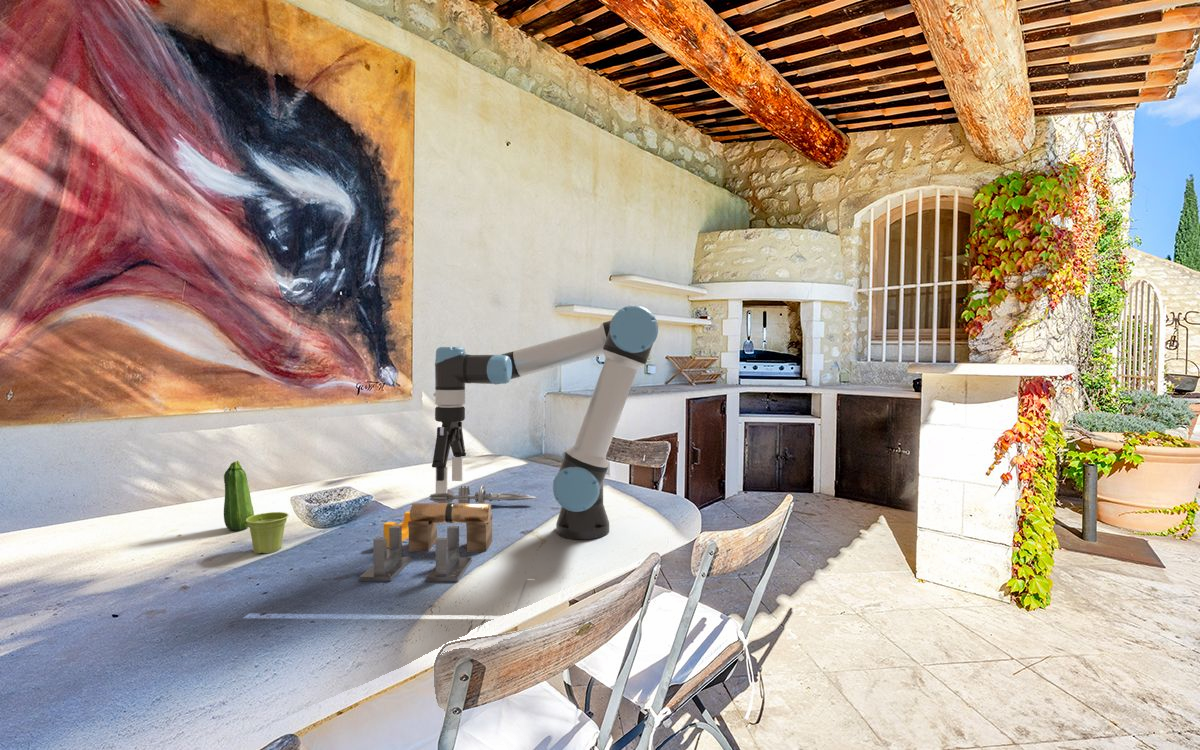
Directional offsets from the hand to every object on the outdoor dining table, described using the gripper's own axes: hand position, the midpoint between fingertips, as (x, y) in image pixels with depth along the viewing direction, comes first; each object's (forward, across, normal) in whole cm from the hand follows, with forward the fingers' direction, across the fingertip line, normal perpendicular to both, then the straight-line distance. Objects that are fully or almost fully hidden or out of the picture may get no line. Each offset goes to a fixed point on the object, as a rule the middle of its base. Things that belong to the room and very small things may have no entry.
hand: (449, 486), depth 140 cm
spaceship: (+16, -36, 0) cm, 39 cm away
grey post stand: (+16, +16, -2) cm, 23 cm away
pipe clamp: (+17, -5, -16) cm, 23 cm away
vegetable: (+17, -13, -66) cm, 69 cm away
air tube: (+7, 0, 0) cm, 7 cm away
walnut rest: (+16, 0, 0) cm, 16 cm away
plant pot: (+17, +3, -46) cm, 50 cm away
